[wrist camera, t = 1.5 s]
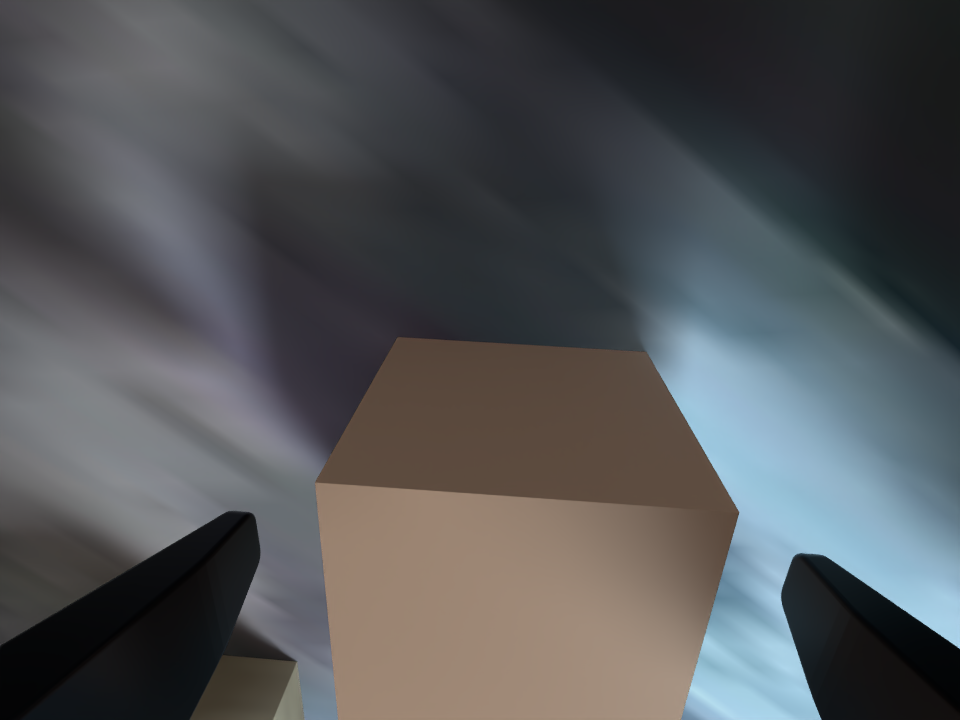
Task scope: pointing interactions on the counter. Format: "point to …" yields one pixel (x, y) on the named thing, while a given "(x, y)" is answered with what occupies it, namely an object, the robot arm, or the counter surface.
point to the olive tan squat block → (251, 691)
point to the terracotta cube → (518, 538)
